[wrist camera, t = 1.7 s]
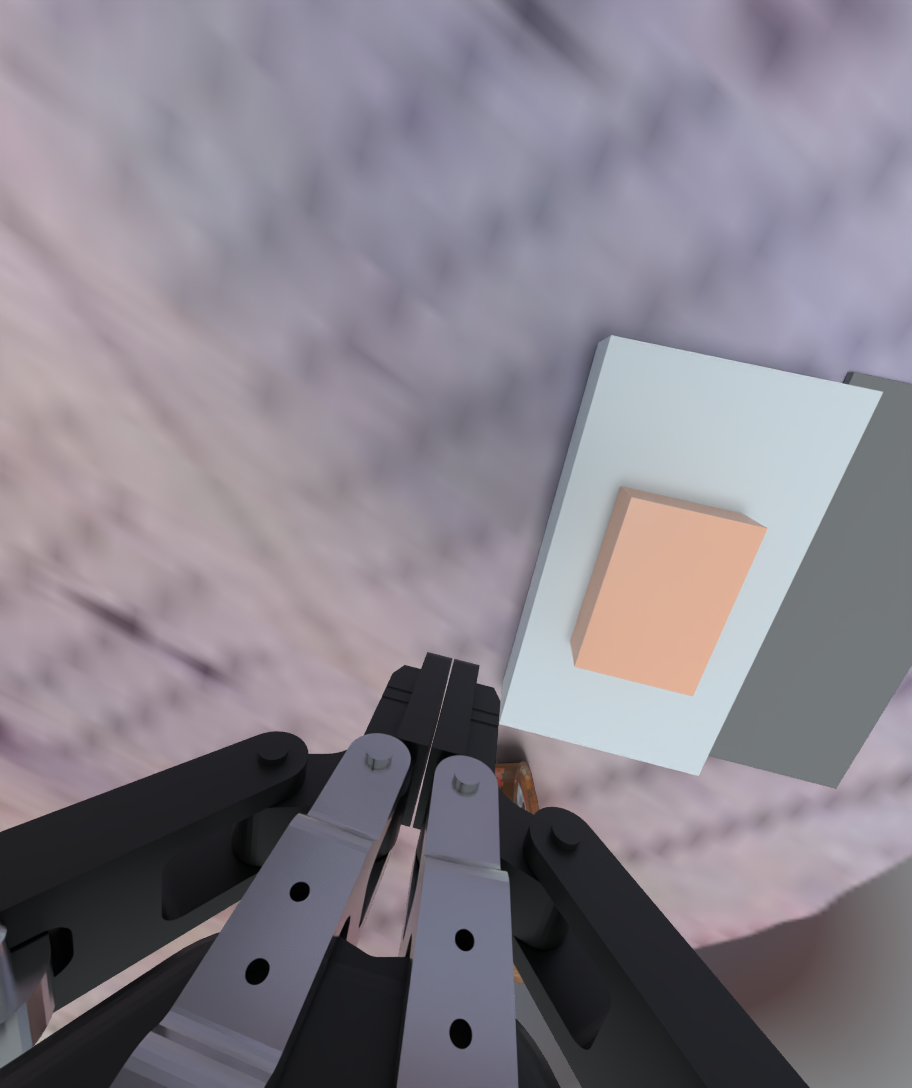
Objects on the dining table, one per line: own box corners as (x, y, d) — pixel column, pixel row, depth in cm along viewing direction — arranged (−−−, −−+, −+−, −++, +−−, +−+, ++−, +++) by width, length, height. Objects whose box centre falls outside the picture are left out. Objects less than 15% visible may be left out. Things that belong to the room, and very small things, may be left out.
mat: (847, 372, 24) (854, 372, 24) (1054, 415, 24) (1064, 415, 23) (680, 743, 32) (682, 748, 32) (831, 782, 32) (836, 788, 31)
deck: (598, 342, 26) (611, 335, 22) (828, 390, 25) (883, 391, 21) (501, 685, 33) (499, 723, 29) (677, 730, 32) (698, 775, 28)
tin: (556, 890, 38) (564, 1023, 30) (516, 891, 39) (514, 1021, 31) (523, 733, 34) (523, 839, 26) (480, 737, 35) (466, 842, 27)
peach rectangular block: (620, 486, 24) (631, 497, 21) (743, 513, 23) (767, 528, 21) (570, 642, 27) (574, 666, 24) (677, 668, 26) (692, 696, 24)
